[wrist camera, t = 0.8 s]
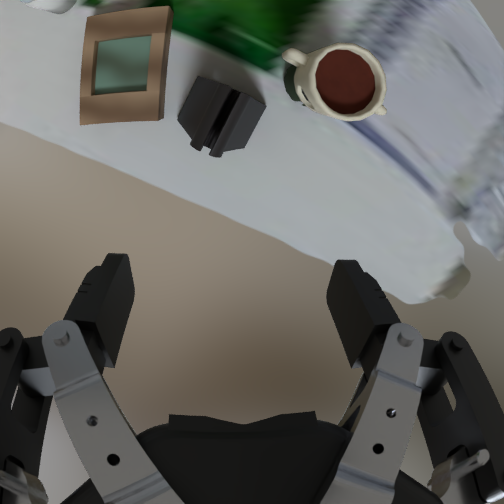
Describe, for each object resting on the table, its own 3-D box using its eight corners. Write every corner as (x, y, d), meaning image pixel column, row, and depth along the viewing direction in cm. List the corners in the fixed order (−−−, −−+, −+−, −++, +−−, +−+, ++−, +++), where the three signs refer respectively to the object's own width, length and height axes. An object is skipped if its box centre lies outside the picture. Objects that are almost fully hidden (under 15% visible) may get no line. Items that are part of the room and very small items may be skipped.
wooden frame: (97, 21, 23) (87, 17, 20) (173, 12, 24) (169, 5, 21) (90, 121, 30) (79, 125, 27) (163, 118, 31) (158, 120, 29)
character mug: (255, 85, 30) (271, 83, 19) (282, 38, 27) (312, 14, 16) (331, 126, 34) (379, 148, 23) (356, 82, 31) (414, 86, 20)
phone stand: (266, 106, 32) (286, 114, 22) (243, 147, 34) (252, 175, 24) (198, 75, 29) (185, 68, 19) (177, 119, 32) (155, 133, 22)
